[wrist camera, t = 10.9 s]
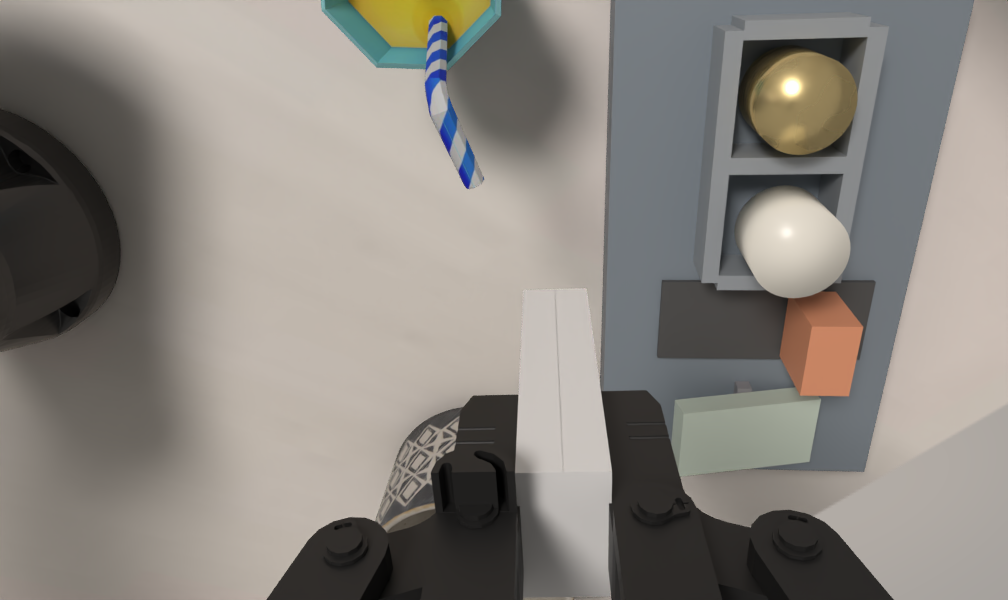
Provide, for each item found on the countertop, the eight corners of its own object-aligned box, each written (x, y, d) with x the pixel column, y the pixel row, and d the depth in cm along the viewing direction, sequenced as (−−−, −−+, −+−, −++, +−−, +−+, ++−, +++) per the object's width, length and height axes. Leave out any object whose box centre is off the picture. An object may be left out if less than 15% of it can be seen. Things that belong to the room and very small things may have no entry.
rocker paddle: (669, 461, 42) (677, 476, 41) (675, 399, 41) (683, 413, 39) (797, 447, 43) (809, 461, 42) (808, 386, 41) (821, 399, 40)
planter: (363, 460, 52) (317, 572, 42) (488, 363, 47) (468, 465, 38) (483, 561, 55) (465, 685, 46) (610, 480, 51) (619, 599, 41)
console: (598, 427, 49) (603, 495, 43) (611, -22, 37) (619, -16, 30) (841, 432, 47) (881, 503, 41) (939, -33, 35) (1017, -30, 29)
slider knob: (779, 355, 40) (800, 395, 36) (789, 291, 38) (812, 326, 35) (823, 356, 40) (848, 396, 36) (835, 291, 38) (863, 326, 35)
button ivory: (729, 267, 36) (745, 298, 32) (739, 185, 34) (756, 209, 31) (817, 267, 35) (841, 298, 32) (831, 184, 33) (858, 209, 30)
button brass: (733, 137, 35) (750, 155, 32) (743, 46, 33) (761, 56, 30) (823, 135, 34) (848, 154, 31) (837, 44, 33) (866, 53, 30)
